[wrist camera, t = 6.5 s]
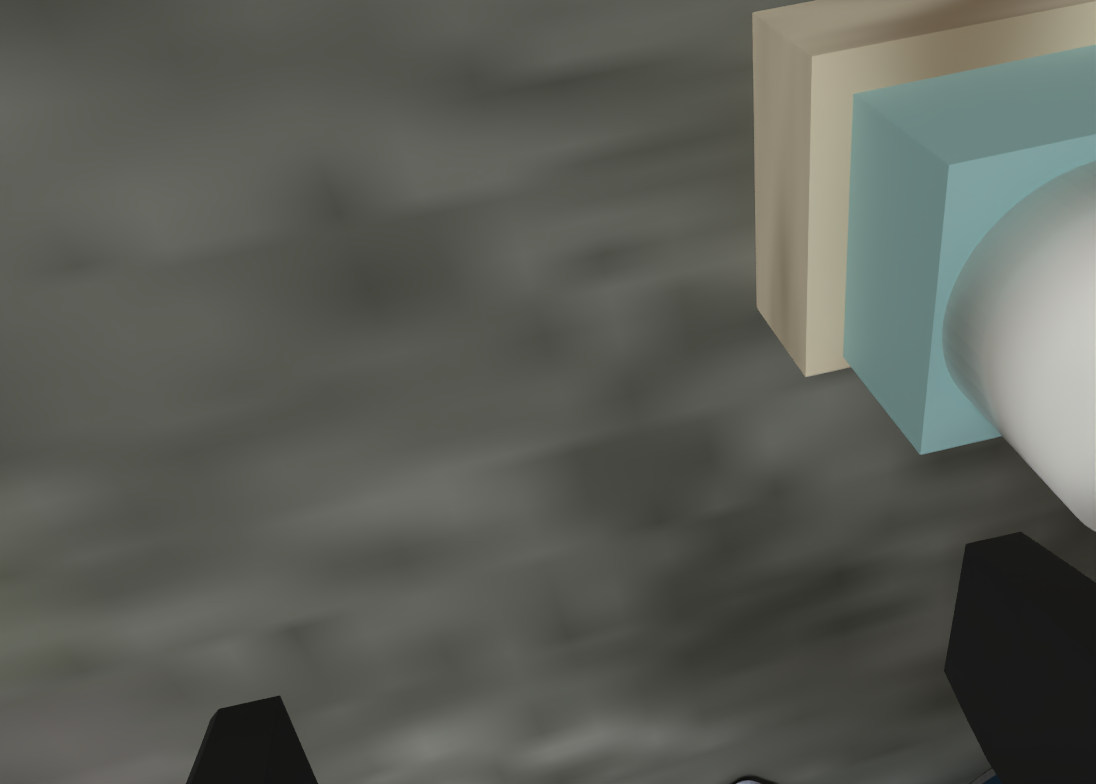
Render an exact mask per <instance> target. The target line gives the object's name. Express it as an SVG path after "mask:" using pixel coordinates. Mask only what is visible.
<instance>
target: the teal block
mask: <svg viewBox="0 0 1096 784" xmlns="http://www.w3.org/2000/svg"><path fill="white" fill-rule="evenodd" d="M1093 161H1096V45H1091V46H1086V47H1081V48H1076V49H1071V50H1066V51H1061V52H1056V53H1051V54H1047V55H1042V56H1037V57H1032V58H1027V59H1022V60H1017V61H1012V62H1007V63H1002V64H998V65H993V66H988V67H983V68H978V69H973V70H968V71H963V72H958V73H953V74H948V75H944V76H939V77H934V78H929V79H924V80H919V81H914V82H909V83H904V84H899V85H894V86H890V87H885V88H880V89H875V90H870V91H865V92H860V93H855V94H853V114H852V139H851V165H850V190H849V216H848V242H847V268H846V294H845V320H844V346H843V357H844V359H845V360H846V361H847V362H848V364H849V365H850V366H851V367H852V369H853V370H854V371H855V373H856V374H857V375H858V376H859V378H860V379H861V380H862V381H863V383H864V384H865V385H866V387H867V388H868V389H869V390H870V392H871V393H872V394H873V395H874V397H875V398H876V399H877V401H878V402H879V403H880V404H881V406H882V407H883V408H884V409H885V411H886V412H887V413H888V414H889V416H890V417H891V418H892V420H893V421H894V422H895V423H896V425H897V426H898V427H899V428H900V430H901V431H902V432H903V434H904V435H905V436H906V437H907V439H908V440H909V441H910V442H911V444H912V445H913V446H914V448H915V449H916V450H917V451H918V453H919V454H920V455H922V454H926V453H931V452H935V451H939V450H944V449H948V448H952V447H957V446H961V445H965V444H970V443H974V442H978V441H983V440H987V439H992V438H996V437H1000V436H1002V435H1001V434H1000V433H999V432H998V431H997V430H996V429H995V428H994V427H993V426H992V424H991V423H990V422H989V421H988V420H987V419H986V418H985V417H984V416H983V415H982V414H981V413H980V411H979V410H978V409H977V408H976V407H975V406H974V405H973V404H972V403H971V402H970V401H969V399H968V398H967V397H966V396H965V395H964V394H963V393H962V392H961V391H960V390H959V388H958V387H957V386H956V384H955V383H954V381H953V380H952V378H951V376H950V374H949V371H948V369H947V367H946V363H945V359H944V355H943V348H942V329H943V319H944V315H945V311H946V306H947V302H948V300H949V297H950V294H951V291H952V289H953V286H954V284H955V282H956V280H957V278H958V276H959V274H960V272H961V270H962V268H963V266H964V264H965V263H966V261H967V260H968V258H969V257H970V255H971V254H972V252H973V250H974V249H975V248H976V246H977V245H978V244H979V243H980V241H981V240H982V239H983V237H984V236H985V235H986V234H987V232H988V231H989V230H990V229H991V228H992V227H993V226H994V225H995V224H996V223H997V222H998V221H999V220H1000V219H1001V218H1002V217H1003V216H1004V215H1005V214H1006V213H1007V212H1008V211H1009V210H1010V209H1012V208H1013V207H1014V206H1015V205H1016V204H1017V203H1018V202H1020V201H1021V200H1022V199H1024V198H1025V197H1026V196H1028V195H1029V194H1030V193H1032V192H1033V191H1035V190H1036V189H1037V188H1039V187H1040V186H1042V185H1044V184H1046V183H1047V182H1049V181H1051V180H1052V179H1054V178H1056V177H1057V176H1059V175H1061V174H1064V173H1066V172H1068V171H1070V170H1072V169H1074V168H1076V167H1079V166H1081V165H1084V164H1087V163H1090V162H1093Z"/></svg>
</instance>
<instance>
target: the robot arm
mask: <svg viewBox="0 0 1096 784" xmlns="http://www.w3.org/2000/svg"><path fill="white" fill-rule="evenodd" d="M944 672H945V674H946V676H947V678H948V680H949V682H950V684H951V686H952V689H953V691H954V693H955V695H956V697H957V699H958V701H959V703H960V706H961V708H962V710H963V712H964V714H965V716H966V718H967V720H968V722H969V724H970V726H971V728H972V730H973V732H974V734H975V736H976V738H977V740H978V742H979V744H980V746H981V748H982V750H983V752H984V754H985V756H986V758H987V760H988V762H989V763H990V765H991V767H992V768H993V770H994V771H995V773H996V775H997V776H998V778H999V779H1000V781H1001V783H1002V784H1096V583H1095V582H1094V581H1092V580H1091V579H1089V578H1088V577H1086V576H1085V575H1084V574H1082V573H1081V572H1079V571H1078V570H1076V569H1075V568H1073V567H1072V566H1071V565H1069V564H1068V563H1066V562H1065V561H1063V560H1062V559H1060V558H1059V557H1057V556H1056V555H1055V554H1053V553H1052V552H1050V551H1049V550H1047V549H1046V548H1044V547H1043V546H1041V545H1040V544H1038V543H1037V542H1035V541H1034V540H1032V539H1031V538H1029V537H1028V536H1026V535H1025V534H1023V533H1022V532H1018V533H1013V534H1009V535H1004V536H1000V537H995V538H991V539H986V540H982V541H977V542H973V543H968V544H966V546H965V552H964V558H963V564H962V570H961V576H960V581H959V587H958V593H957V599H956V605H955V611H954V617H953V622H952V628H951V634H950V640H949V646H948V652H947V657H946V663H945V669H944ZM186 784H318V783H317V781H316V778H315V776H314V774H313V771H312V769H311V767H310V764H309V762H308V760H307V757H306V755H305V753H304V750H303V748H302V746H301V743H300V741H299V739H298V736H297V734H296V732H295V729H294V727H293V725H292V722H291V720H290V718H289V715H288V713H287V711H286V708H285V706H284V704H283V701H282V699H281V697H280V696H276V697H271V698H267V699H262V700H257V701H253V702H248V703H244V704H239V705H235V706H230V707H226V708H221V709H218V711H217V712H216V713H215V714H214V716H213V717H212V718H211V720H210V722H209V725H208V728H207V731H206V733H205V736H204V739H203V741H202V744H201V747H200V749H199V752H198V754H197V757H196V759H195V762H194V765H193V767H192V770H191V772H190V775H189V777H188V780H187V782H186ZM736 784H760V783H758V782H755V781H750V780H745V781H741V782H738V783H736Z"/></svg>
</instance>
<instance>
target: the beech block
mask: <svg viewBox="0 0 1096 784" xmlns="http://www.w3.org/2000/svg"><path fill="white" fill-rule="evenodd" d="M752 14H753V82H754V151H755V220H756V288H757V309H758V310H759V312H760V313H761V314H762V316H763V317H764V319H765V320H766V321H767V323H768V324H769V326H770V327H771V329H772V330H773V331H774V333H775V334H776V336H777V337H778V339H779V340H780V341H781V343H782V344H783V346H784V347H785V349H786V350H787V351H788V353H789V354H790V356H791V357H792V358H793V360H794V361H795V363H796V364H797V366H798V367H799V368H800V370H801V371H802V373H803V374H804V376H805V377H808V376H812V375H817V374H821V373H826V372H831V371H835V370H840V369H844V368H849V367H851V366H850V365H849V364H848V362H847V361H846V360H845V359H844V357H843V346H844V320H845V294H846V268H847V242H848V216H849V190H850V165H851V139H852V114H853V94H855V93H860V92H865V91H870V90H875V89H880V88H885V87H890V86H894V85H899V84H904V83H909V82H914V81H919V80H924V79H929V78H934V77H939V76H944V75H948V74H953V73H958V72H963V71H968V70H973V69H978V68H983V67H988V66H993V65H998V64H1002V63H1007V62H1012V61H1017V60H1022V59H1027V58H1032V57H1037V56H1042V55H1047V54H1051V53H1056V52H1061V51H1066V50H1071V49H1076V48H1081V47H1086V46H1091V45H1096V0H816V1H810V2H805V3H800V4H795V5H789V6H784V7H779V8H774V9H768V10H763V11H758V12H753V13H752Z"/></svg>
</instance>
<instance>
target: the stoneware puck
mask: <svg viewBox="0 0 1096 784" xmlns="http://www.w3.org/2000/svg"><path fill="white" fill-rule="evenodd" d="M942 348H943V355H944V359H945V363H946V367H947V369H948V371H949V374H950V376H951V378H952V380H953V381H954V383H955V384H956V386H957V387H958V388H959V390H960V391H961V392H962V393H963V394H964V395H965V396H966V397H967V398H968V399H969V401H970V402H971V403H972V404H973V405H974V406H975V407H976V408H977V409H978V410H979V411H980V413H981V414H982V415H983V416H984V417H985V418H986V419H987V420H988V421H989V422H990V423H991V424H992V426H993V427H994V428H995V429H996V430H997V431H998V432H999V433H1000V434H1001V435H1002V436H1003V438H1004V439H1005V440H1006V441H1007V442H1008V443H1009V444H1010V445H1011V446H1012V447H1013V448H1014V449H1015V451H1016V452H1017V453H1018V454H1019V455H1020V456H1021V457H1022V458H1023V459H1024V460H1025V461H1026V463H1027V464H1028V465H1029V466H1030V467H1031V468H1032V469H1033V470H1034V471H1035V472H1036V473H1037V474H1038V476H1039V477H1040V478H1041V479H1042V480H1043V481H1044V482H1045V483H1046V484H1047V485H1048V486H1049V488H1050V489H1051V490H1052V491H1053V492H1054V493H1055V494H1056V495H1057V496H1058V497H1059V498H1060V499H1061V501H1062V502H1063V503H1064V504H1065V505H1066V506H1067V507H1068V508H1069V509H1070V510H1071V511H1072V513H1073V514H1074V515H1075V516H1076V517H1077V518H1078V519H1079V520H1080V521H1081V522H1082V523H1083V524H1085V525H1086V526H1087V527H1089V528H1091V529H1092V530H1094V531H1095V532H1096V161H1093V162H1090V163H1087V164H1084V165H1081V166H1079V167H1076V168H1074V169H1072V170H1070V171H1068V172H1066V173H1064V174H1061V175H1059V176H1057V177H1056V178H1054V179H1052V180H1051V181H1049V182H1047V183H1046V184H1044V185H1042V186H1040V187H1039V188H1037V189H1036V190H1035V191H1033V192H1032V193H1030V194H1029V195H1028V196H1026V197H1025V198H1024V199H1022V200H1021V201H1020V202H1018V203H1017V204H1016V205H1015V206H1014V207H1013V208H1012V209H1010V210H1009V211H1008V212H1007V213H1006V214H1005V215H1004V216H1003V217H1002V218H1001V219H1000V220H999V221H998V222H997V223H996V224H995V225H994V226H993V227H992V228H991V229H990V230H989V231H988V232H987V234H986V235H985V236H984V237H983V239H982V240H981V241H980V243H979V244H978V245H977V246H976V248H975V249H974V250H973V252H972V254H971V255H970V257H969V258H968V260H967V261H966V263H965V264H964V266H963V268H962V270H961V272H960V274H959V276H958V278H957V280H956V282H955V284H954V286H953V289H952V291H951V294H950V297H949V300H948V302H947V306H946V311H945V315H944V319H943V329H942Z"/></svg>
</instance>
